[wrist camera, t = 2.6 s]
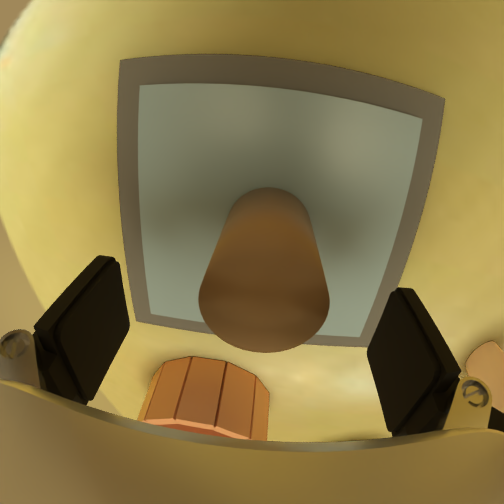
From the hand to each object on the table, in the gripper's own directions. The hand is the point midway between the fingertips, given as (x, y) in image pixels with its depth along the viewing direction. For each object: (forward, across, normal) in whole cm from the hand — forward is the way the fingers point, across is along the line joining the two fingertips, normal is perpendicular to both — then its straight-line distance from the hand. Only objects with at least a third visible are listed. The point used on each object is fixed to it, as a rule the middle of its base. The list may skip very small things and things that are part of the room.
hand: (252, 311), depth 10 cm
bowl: (+7, +3, +15) cm, 17 cm away
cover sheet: (+6, 0, -1) cm, 6 cm away
